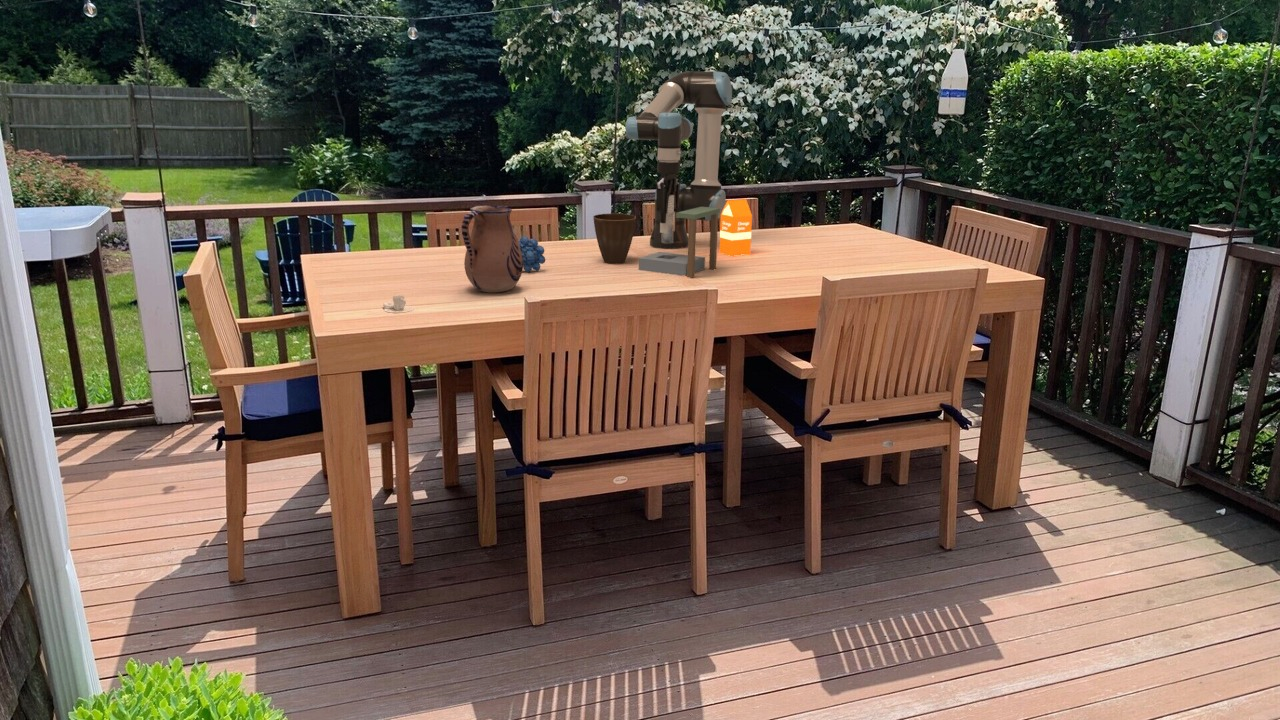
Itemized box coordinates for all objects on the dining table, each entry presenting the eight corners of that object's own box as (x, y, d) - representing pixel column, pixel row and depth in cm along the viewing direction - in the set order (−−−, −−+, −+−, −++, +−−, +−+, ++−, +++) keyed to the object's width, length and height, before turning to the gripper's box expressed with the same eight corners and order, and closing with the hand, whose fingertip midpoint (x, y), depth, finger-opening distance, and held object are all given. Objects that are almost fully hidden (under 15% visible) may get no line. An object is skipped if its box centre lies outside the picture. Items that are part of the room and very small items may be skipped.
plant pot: (643, 264, 322) (643, 218, 317) (604, 267, 316) (604, 220, 311) (624, 256, 335) (624, 212, 330) (586, 259, 328) (586, 214, 323)
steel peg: (669, 243, 310) (670, 195, 305) (659, 242, 312) (660, 195, 307) (675, 242, 313) (676, 194, 308) (664, 241, 315) (665, 193, 310)
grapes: (514, 275, 301) (513, 239, 298) (509, 271, 307) (508, 235, 304) (548, 273, 305) (548, 237, 302) (543, 269, 311) (543, 234, 308)
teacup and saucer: (379, 308, 259) (378, 294, 258) (407, 305, 263) (406, 291, 262) (389, 315, 252) (388, 301, 251) (417, 312, 256) (416, 297, 255)
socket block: (638, 269, 313) (638, 258, 311) (658, 263, 324) (659, 251, 323) (685, 275, 304) (685, 264, 303) (704, 268, 315) (705, 257, 314)
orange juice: (750, 254, 342) (753, 200, 336) (731, 256, 337) (733, 201, 331) (737, 251, 348) (740, 197, 342) (718, 253, 344) (720, 199, 338)
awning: (674, 275, 304) (676, 212, 298) (699, 266, 319) (701, 206, 312) (693, 278, 300) (695, 214, 294) (717, 269, 315) (720, 208, 309)
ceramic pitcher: (534, 286, 286) (532, 205, 278) (497, 301, 267) (494, 214, 260) (486, 281, 292) (482, 202, 285) (447, 295, 274) (442, 210, 267)
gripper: (666, 163, 295) (664, 236, 302) (690, 159, 310) (688, 229, 316) (646, 162, 299) (645, 234, 306) (671, 158, 313) (669, 227, 320)
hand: (667, 231), depth 311 cm, fingers closed on steel peg, 4 cm apart
